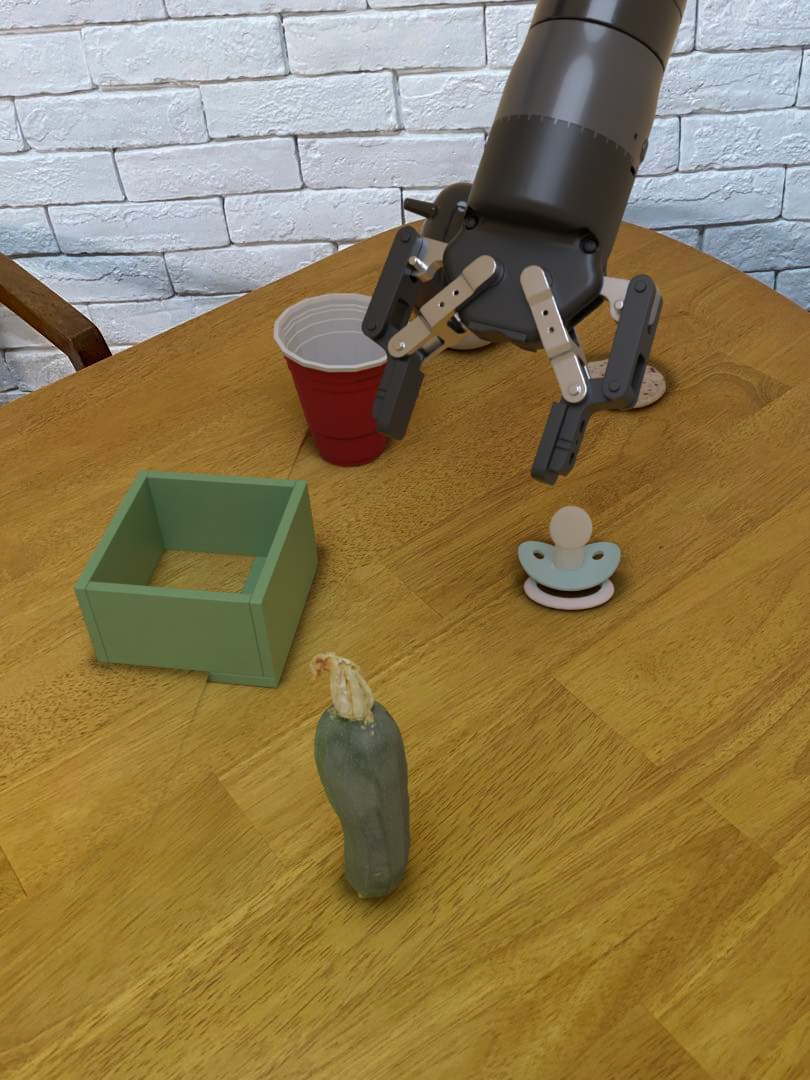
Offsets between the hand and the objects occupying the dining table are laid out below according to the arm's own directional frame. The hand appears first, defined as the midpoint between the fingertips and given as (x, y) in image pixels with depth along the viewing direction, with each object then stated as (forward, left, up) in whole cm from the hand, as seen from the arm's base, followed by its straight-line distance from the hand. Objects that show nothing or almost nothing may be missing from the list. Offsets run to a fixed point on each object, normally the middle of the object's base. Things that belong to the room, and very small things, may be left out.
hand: (463, 458), depth 56 cm
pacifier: (+5, +16, -23) cm, 29 cm away
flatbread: (+8, +42, -23) cm, 49 cm away
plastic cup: (-14, +31, -23) cm, 41 cm away
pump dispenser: (-7, +50, -23) cm, 56 cm away
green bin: (-20, +10, -23) cm, 32 cm away
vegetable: (-4, -11, -24) cm, 26 cm away
